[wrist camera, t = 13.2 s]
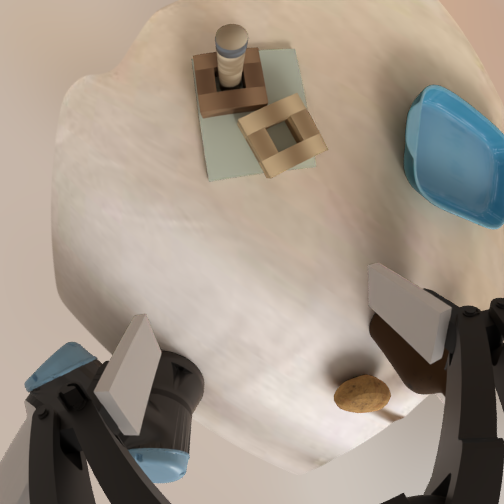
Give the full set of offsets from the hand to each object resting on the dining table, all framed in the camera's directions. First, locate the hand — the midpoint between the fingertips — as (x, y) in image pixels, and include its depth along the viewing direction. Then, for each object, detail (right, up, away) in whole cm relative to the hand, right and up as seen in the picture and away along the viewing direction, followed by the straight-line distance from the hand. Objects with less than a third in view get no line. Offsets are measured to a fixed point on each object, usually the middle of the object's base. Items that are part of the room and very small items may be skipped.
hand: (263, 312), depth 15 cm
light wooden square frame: (+3, +20, +22) cm, 30 cm away
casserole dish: (+40, +22, +27) cm, 53 cm away
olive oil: (+27, -11, +35) cm, 45 cm away
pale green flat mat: (0, +25, +22) cm, 33 cm away
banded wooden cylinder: (-4, +28, +20) cm, 34 cm away
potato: (+22, -26, +39) cm, 52 cm away
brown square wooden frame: (-4, +27, +20) cm, 34 cm away
